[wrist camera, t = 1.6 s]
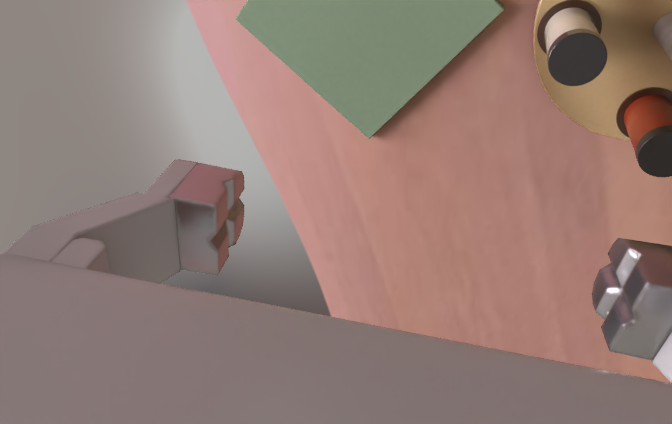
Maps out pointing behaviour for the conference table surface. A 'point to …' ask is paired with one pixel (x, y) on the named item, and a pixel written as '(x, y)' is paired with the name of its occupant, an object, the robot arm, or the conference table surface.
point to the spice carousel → (621, 76)
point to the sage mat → (367, 47)
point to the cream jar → (574, 47)
